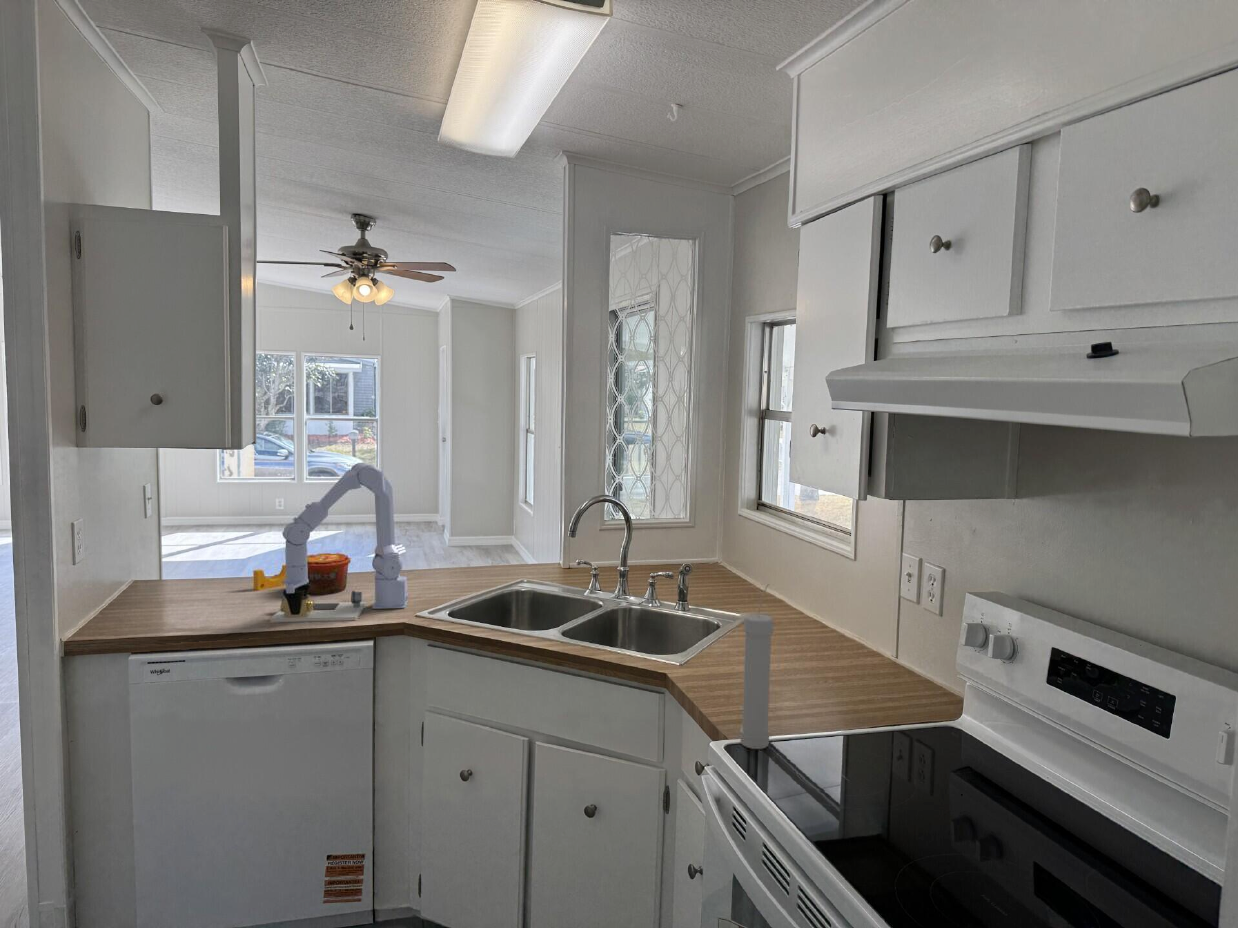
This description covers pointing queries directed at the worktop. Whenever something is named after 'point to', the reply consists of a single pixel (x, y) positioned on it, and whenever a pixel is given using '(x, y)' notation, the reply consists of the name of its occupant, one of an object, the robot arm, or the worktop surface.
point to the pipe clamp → (272, 582)
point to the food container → (327, 572)
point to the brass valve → (305, 609)
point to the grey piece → (756, 680)
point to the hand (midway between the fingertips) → (297, 611)
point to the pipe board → (328, 611)
